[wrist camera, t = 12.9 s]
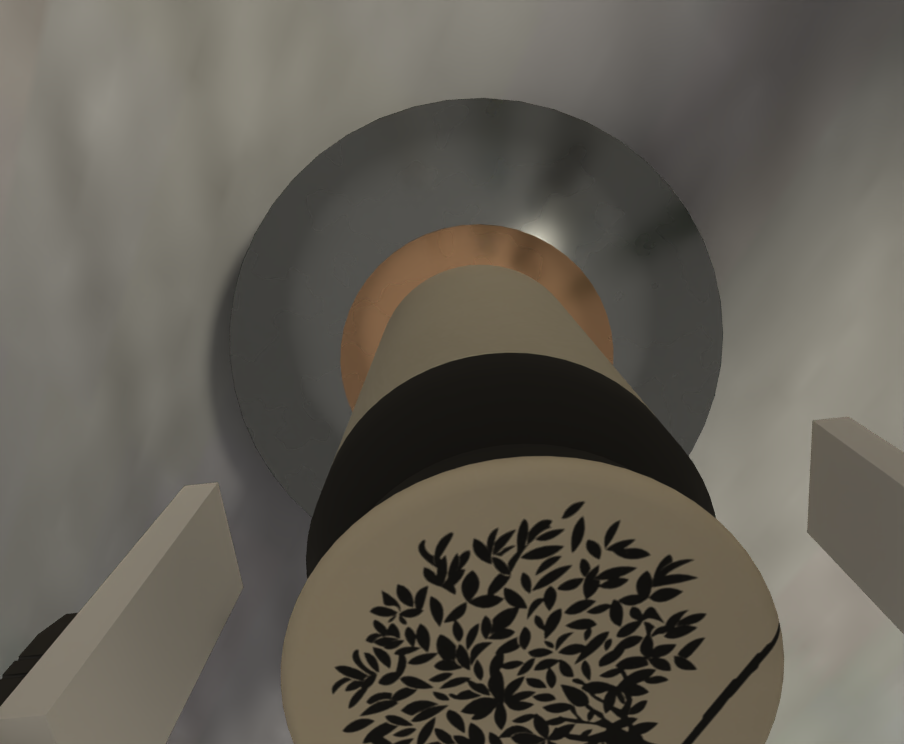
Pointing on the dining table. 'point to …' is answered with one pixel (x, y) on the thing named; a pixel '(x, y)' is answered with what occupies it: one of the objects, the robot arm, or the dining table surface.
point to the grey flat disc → (460, 244)
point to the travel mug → (519, 550)
